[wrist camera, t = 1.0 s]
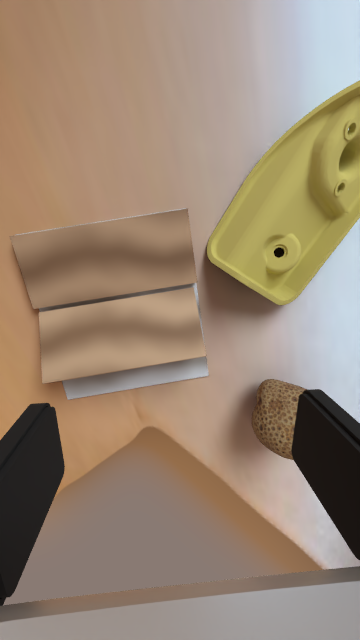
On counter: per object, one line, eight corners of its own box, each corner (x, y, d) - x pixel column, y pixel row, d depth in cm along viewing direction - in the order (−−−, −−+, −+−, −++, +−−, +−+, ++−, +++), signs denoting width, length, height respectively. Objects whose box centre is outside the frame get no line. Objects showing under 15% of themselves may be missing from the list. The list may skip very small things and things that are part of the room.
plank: (205, 356, 29) (206, 355, 28) (48, 383, 28) (42, 383, 27) (193, 290, 30) (193, 287, 29) (44, 314, 30) (38, 312, 29)
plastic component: (287, 310, 30) (234, 278, 24) (249, 285, 36) (199, 254, 30) (416, 144, 25) (388, 51, 19) (348, 145, 30) (310, 74, 24)
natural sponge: (282, 431, 37) (323, 493, 28) (229, 411, 36) (253, 471, 26) (314, 380, 35) (370, 429, 26) (260, 357, 34) (298, 400, 24)
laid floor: (208, 375, 34) (210, 380, 33) (68, 398, 34) (64, 405, 32) (186, 208, 28) (187, 206, 27) (16, 234, 28) (9, 234, 27)
